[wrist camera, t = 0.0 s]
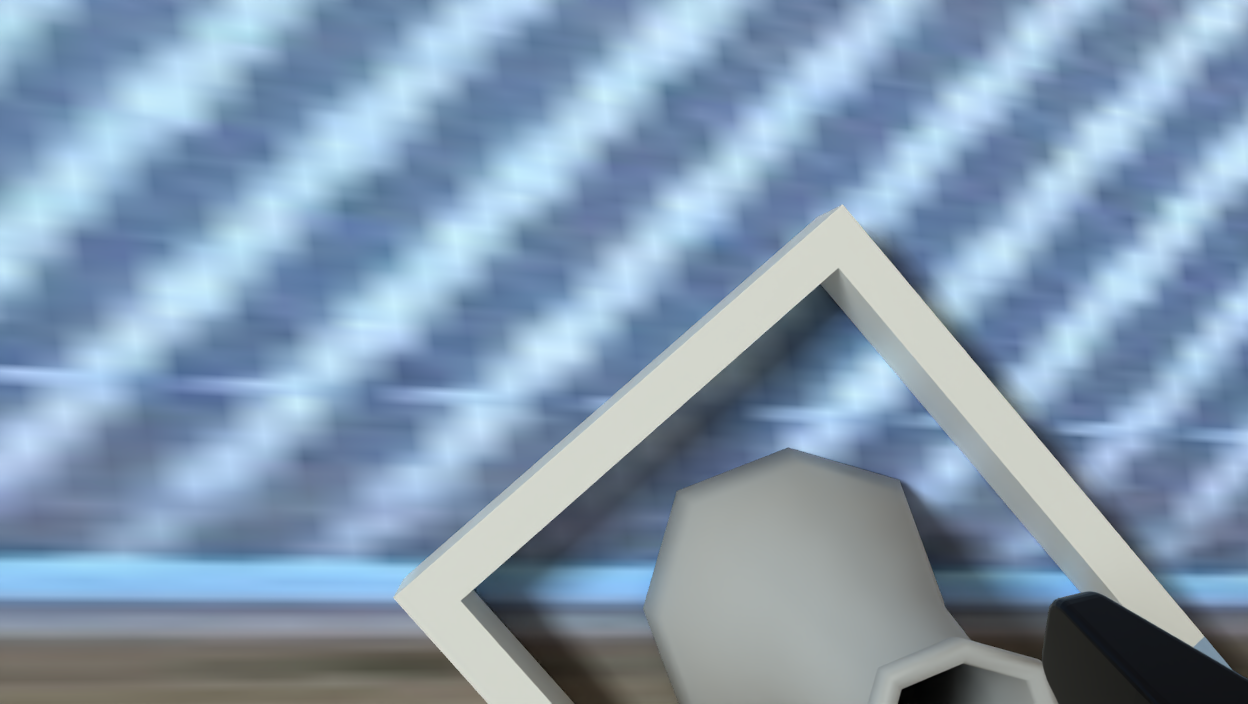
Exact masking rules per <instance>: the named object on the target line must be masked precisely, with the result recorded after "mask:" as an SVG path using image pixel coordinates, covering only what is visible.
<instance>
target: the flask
mask: <svg viewBox="0 0 1248 704" xmlns="http://www.w3.org/2000/svg"><path fill="white" fill-rule="evenodd" d="M643 610H644V612H645V615H646V618H647V620H648V623H649V626H650V628H651V631H652V634H653V636H654V639H655V642H656V644H657V647H658V650H659V652H660V655H661V658H662V660H663V663H664V666H665V669H666V671H667V674H668V677H669V679H670V682H671V685H672V687H673V690H674V693H675V695H676V698H677V701H678V703H679V704H1058V702H1057V700H1056V698H1055V696H1054V694H1053V692H1052V690H1051V688H1050V686H1049V683H1048V681H1047V679H1046V676H1045V673H1044V669H1043V664H1042V661H1040V660H1039V659H1036V658H1032V657H1029V656H1025V655H1022V654H1018V653H1014V652H1011V651H1007V650H1004V649H1000V648H996V647H993V646H989V645H986V644H982V643H978V642H975V641H971V640H970V638H969V637H968V636H967V635H966V633H965V632H964V631H963V629H962V628H961V627H960V626H959V624H958V623H957V622H956V620H955V619H954V618H953V617H952V615H951V614H950V613H949V611H948V610H947V609H946V608H945V605H944V601H943V598H942V595H941V592H940V590H939V587H938V584H937V581H936V579H935V576H934V573H933V571H932V568H931V565H930V562H929V560H928V557H927V554H926V551H925V549H924V546H923V543H922V541H921V538H920V535H919V532H918V530H917V527H916V524H915V521H914V519H913V516H912V513H911V511H910V508H909V505H908V502H907V500H906V497H905V494H904V491H903V489H902V486H901V483H900V481H899V480H897V479H894V478H890V477H887V476H884V475H880V474H877V473H873V472H870V471H866V470H863V469H860V468H856V467H853V466H849V465H846V464H842V463H839V462H836V461H832V460H829V459H825V458H822V457H818V456H815V455H811V454H808V453H805V452H801V451H798V450H794V449H791V448H786V449H783V450H781V451H778V452H775V453H773V454H770V455H768V456H765V457H763V458H760V459H758V460H755V461H752V462H750V463H747V464H745V465H742V466H740V467H737V468H735V469H732V470H729V471H727V472H724V473H722V474H719V475H717V476H714V477H712V478H709V479H706V480H704V481H701V482H699V483H696V484H694V485H691V486H689V487H686V488H683V489H681V490H678V491H677V492H676V496H675V499H674V503H673V506H672V510H671V513H670V517H669V520H668V524H667V527H666V531H665V534H664V537H663V541H662V544H661V548H660V551H659V555H658V558H657V562H656V565H655V569H654V572H653V576H652V579H651V583H650V586H649V589H648V593H647V596H646V600H645V603H644V607H643Z"/></svg>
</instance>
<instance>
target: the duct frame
mask: <svg viewBox="0 0 1248 704" xmlns="http://www.w3.org/2000/svg"><path fill="white" fill-rule="evenodd" d="M819 284H821V285H822V287H823V288H824V289H825V290H826V291H827V292H828V294H829V295H830V296H831V297H832V298H833V300H834V301H835V302H836V303H837V304H838V305H839V307H840V308H841V309H842V310H843V311H844V313H845V314H846V315H847V316H848V317H849V319H850V320H851V321H852V322H853V323H854V324H855V326H856V327H857V328H858V329H859V330H860V332H861V333H862V334H863V335H864V336H865V337H866V339H867V340H868V341H869V342H870V343H871V345H872V346H873V347H874V348H875V349H876V351H877V352H878V353H879V354H880V355H881V356H882V358H883V359H884V360H885V361H886V362H887V364H888V365H889V366H890V367H891V368H892V369H893V371H894V372H895V373H896V374H897V375H898V377H899V378H900V379H901V380H902V381H903V383H904V384H905V385H906V386H907V387H908V388H909V390H910V391H911V392H912V393H913V394H914V396H915V397H916V398H917V399H918V400H919V402H920V403H921V404H922V405H923V406H924V407H925V409H926V410H927V411H928V412H929V413H930V415H931V416H932V417H933V418H934V419H935V420H936V422H937V423H938V424H939V425H940V426H941V428H942V429H943V430H944V431H945V432H946V434H947V435H948V436H949V437H950V438H951V439H952V441H953V442H954V443H955V444H956V445H957V447H958V448H959V449H960V450H961V451H962V452H963V454H964V455H965V456H966V457H967V458H968V460H969V461H970V462H971V463H972V464H973V466H974V467H975V468H976V469H977V470H978V471H979V473H980V474H981V475H982V476H983V477H984V479H985V480H986V481H987V482H988V483H989V484H990V486H991V487H992V488H993V489H994V490H995V492H996V493H997V494H998V495H999V496H1000V498H1001V499H1002V500H1003V501H1004V502H1005V503H1006V505H1007V506H1008V507H1009V508H1010V509H1011V511H1012V512H1013V513H1014V514H1015V515H1016V516H1017V518H1018V519H1019V520H1020V521H1021V522H1022V524H1023V525H1024V526H1025V527H1026V528H1027V530H1028V531H1029V532H1030V533H1031V534H1032V535H1033V537H1034V538H1035V539H1036V540H1037V541H1038V543H1039V544H1040V545H1041V546H1042V547H1043V548H1044V550H1045V551H1046V552H1047V553H1048V554H1049V556H1050V557H1051V558H1052V559H1053V560H1054V562H1055V563H1056V564H1057V565H1058V566H1059V567H1060V569H1061V570H1062V571H1063V572H1064V573H1065V575H1066V576H1067V577H1068V578H1069V579H1070V580H1071V582H1072V583H1073V584H1074V585H1075V586H1076V588H1077V589H1078V590H1079V591H1080V592H1081V593H1082V592H1088V591H1092V592H1097V593H1100V594H1102V595H1104V596H1106V597H1108V598H1110V599H1111V600H1113V601H1115V602H1116V603H1118V604H1120V605H1122V606H1123V607H1125V608H1127V609H1128V610H1130V611H1132V612H1134V613H1135V614H1137V615H1139V616H1140V617H1142V618H1144V619H1146V620H1147V621H1149V622H1151V623H1152V624H1154V625H1156V626H1158V627H1159V628H1161V629H1163V630H1165V631H1166V632H1168V633H1170V634H1171V635H1173V636H1175V637H1177V638H1178V639H1180V640H1182V641H1183V642H1185V643H1187V644H1189V645H1190V646H1192V647H1194V648H1195V649H1197V650H1199V651H1201V652H1202V653H1204V654H1206V655H1207V656H1209V657H1211V658H1213V659H1214V660H1216V661H1218V662H1219V663H1221V664H1223V665H1225V666H1226V667H1228V668H1230V666H1229V665H1228V664H1227V663H1226V662H1225V660H1224V659H1223V658H1222V657H1221V656H1220V655H1219V653H1218V652H1217V651H1216V650H1215V649H1214V647H1213V646H1212V645H1211V644H1210V643H1209V641H1208V640H1207V639H1206V638H1205V637H1204V635H1203V634H1202V633H1201V632H1200V631H1199V629H1198V628H1197V627H1196V626H1195V625H1194V623H1193V622H1192V621H1191V620H1190V619H1189V617H1188V616H1187V615H1186V614H1185V613H1184V612H1183V610H1182V609H1181V608H1180V607H1179V606H1178V604H1177V603H1176V602H1175V601H1174V600H1173V598H1172V597H1171V596H1170V595H1169V594H1168V592H1167V591H1166V590H1165V589H1164V588H1163V586H1162V585H1161V584H1160V583H1159V582H1158V580H1157V579H1156V578H1155V577H1154V576H1153V574H1152V573H1151V572H1150V571H1149V570H1148V569H1147V567H1146V566H1145V565H1144V564H1143V563H1142V561H1141V560H1140V559H1139V558H1138V557H1137V555H1136V554H1135V553H1134V552H1133V551H1132V549H1131V548H1130V547H1129V546H1128V545H1127V543H1126V542H1125V541H1124V540H1123V539H1122V537H1121V536H1120V535H1119V534H1118V533H1117V532H1116V530H1115V529H1114V528H1113V527H1112V526H1111V524H1110V523H1109V522H1108V521H1107V520H1106V518H1105V517H1104V516H1103V515H1102V514H1101V512H1100V511H1099V510H1098V509H1097V508H1096V506H1095V505H1094V504H1093V503H1092V502H1091V500H1090V499H1089V498H1088V497H1087V496H1086V494H1085V493H1084V492H1083V491H1082V490H1081V489H1080V487H1079V486H1078V485H1077V484H1076V483H1075V481H1074V480H1073V479H1072V478H1071V477H1070V475H1069V474H1068V473H1067V472H1066V471H1065V469H1064V468H1063V467H1062V466H1061V465H1060V463H1059V462H1058V461H1057V460H1056V459H1055V457H1054V456H1053V455H1052V454H1051V453H1050V451H1049V450H1048V449H1047V448H1046V447H1045V446H1044V444H1043V443H1042V442H1041V441H1040V440H1039V438H1038V437H1037V436H1036V435H1035V434H1034V432H1033V431H1032V430H1031V429H1030V428H1029V426H1028V425H1027V424H1026V423H1025V422H1024V420H1023V419H1022V418H1021V417H1020V416H1019V414H1018V413H1017V412H1016V411H1015V410H1014V408H1013V407H1012V406H1011V405H1010V404H1009V403H1008V401H1007V400H1006V399H1005V398H1004V397H1003V395H1002V394H1001V393H1000V392H999V391H998V389H997V388H996V387H995V386H994V385H993V383H992V382H991V381H990V380H989V379H988V377H987V376H986V375H985V374H984V373H983V371H982V370H981V369H980V368H979V367H978V365H977V364H976V363H975V362H974V361H973V360H972V358H971V357H970V356H969V355H968V354H967V352H966V351H965V350H964V349H963V348H962V346H961V345H960V344H959V343H958V342H957V340H956V339H955V338H954V337H953V336H952V334H951V333H950V332H949V331H948V330H947V328H946V327H945V326H944V325H943V324H942V322H941V321H940V320H939V319H938V318H937V317H936V315H935V314H934V313H933V312H932V311H931V309H930V308H929V307H928V306H927V305H926V303H925V302H924V301H923V300H922V299H921V297H920V296H919V295H918V294H917V293H916V291H915V290H914V289H913V288H912V287H911V285H910V284H909V283H908V282H907V281H906V279H905V278H904V277H903V276H902V275H901V274H900V272H899V271H898V270H897V269H896V268H895V266H894V265H893V264H892V263H891V262H890V260H889V259H888V258H887V257H886V256H885V254H884V253H883V252H882V251H881V250H880V248H879V247H878V246H877V245H876V244H875V242H874V241H873V240H872V239H871V238H870V236H869V235H868V234H867V233H866V232H865V231H864V229H863V228H862V227H861V226H860V225H859V223H858V222H857V221H856V220H855V219H854V217H853V216H852V215H851V214H850V213H849V211H848V210H847V209H846V208H845V207H844V205H841V206H839V207H837V208H835V209H833V210H831V211H829V212H827V213H825V214H823V215H821V216H818V217H817V218H816V219H814V220H813V221H812V222H811V223H810V224H809V225H808V226H806V227H805V228H804V229H803V230H802V231H801V232H800V233H798V234H797V235H796V236H795V237H794V238H793V239H792V240H790V241H789V242H788V243H787V244H786V245H785V246H784V247H782V248H781V249H780V250H779V251H778V252H777V253H776V254H774V255H773V256H772V257H771V258H770V259H769V260H768V261H766V262H765V263H764V264H763V265H762V266H761V267H759V268H758V269H757V270H756V271H755V272H754V273H753V274H751V275H750V276H749V277H748V278H747V279H746V280H745V281H743V282H742V283H741V284H740V285H739V286H738V287H737V288H735V289H734V290H733V291H732V292H731V293H730V294H729V295H727V296H726V297H725V298H724V299H723V300H722V301H721V302H719V303H718V304H717V305H716V306H715V307H714V308H713V309H711V310H710V311H709V312H708V313H707V314H706V315H705V316H703V317H702V318H701V319H700V320H699V321H698V322H697V323H695V324H694V325H693V326H692V327H691V328H690V329H689V330H687V331H686V332H685V333H684V334H683V335H682V336H681V337H679V338H678V339H677V340H676V341H675V342H674V343H673V344H671V345H670V346H669V347H668V348H667V349H666V350H665V351H663V352H662V353H661V354H660V355H659V356H658V357H656V358H655V359H654V360H653V361H652V362H651V363H650V364H648V365H647V366H646V367H645V368H644V369H643V370H642V371H640V372H639V373H638V374H637V375H636V376H635V377H634V378H632V379H631V380H630V381H629V382H628V383H627V384H626V385H624V386H623V387H622V388H621V389H620V390H619V391H618V392H616V393H615V394H614V395H613V396H612V397H611V398H610V399H608V400H607V401H606V402H605V403H604V404H603V405H602V406H600V407H599V408H598V409H597V410H596V411H595V412H594V413H592V414H591V415H590V416H589V417H588V418H587V419H586V420H584V421H583V422H582V423H581V424H580V425H579V426H578V427H576V428H575V429H574V430H573V431H572V432H571V433H570V434H568V435H567V436H566V437H565V438H564V439H563V440H562V441H560V442H559V443H558V444H557V445H556V446H555V447H554V448H552V449H551V450H550V451H549V452H548V453H547V454H545V455H544V456H543V457H542V458H541V459H540V460H539V461H537V462H536V463H535V464H534V465H533V466H532V467H531V468H529V469H528V470H527V471H526V472H525V473H524V474H523V475H521V476H520V477H519V478H518V479H517V480H516V481H515V482H513V483H512V484H511V485H510V486H509V487H508V488H507V489H505V490H504V491H503V492H502V493H501V494H500V495H499V496H497V497H496V498H495V499H494V500H493V501H492V502H491V503H489V504H488V505H487V506H486V507H485V508H484V509H483V510H481V511H480V512H479V513H478V514H477V515H476V516H475V517H473V518H472V519H471V520H470V521H469V522H468V523H467V524H465V525H464V526H463V527H462V528H461V529H460V530H459V531H457V532H456V533H455V534H454V535H453V536H452V537H451V538H449V539H448V540H447V541H446V542H445V543H444V544H443V545H441V546H440V547H439V548H438V549H437V550H436V551H434V552H433V553H432V554H431V555H430V556H429V557H428V558H426V559H425V560H424V561H423V562H422V563H421V564H420V565H418V566H417V567H416V568H415V569H414V570H413V571H412V572H410V573H409V574H408V575H407V576H406V577H405V578H404V579H403V581H402V583H401V585H400V586H399V588H398V590H397V592H396V594H395V596H394V597H393V598H394V599H395V600H396V601H397V602H398V603H399V605H400V606H401V607H402V608H403V609H404V610H405V611H406V612H407V613H408V615H409V616H410V617H411V618H412V619H413V620H414V621H415V622H416V624H417V625H418V626H419V627H420V628H421V629H422V630H423V631H424V632H425V634H426V635H427V636H428V637H429V638H430V639H431V640H432V641H433V643H434V644H435V645H436V646H437V647H438V648H439V649H440V650H441V651H442V653H443V654H444V655H445V656H446V657H447V658H448V659H449V660H450V662H451V663H452V664H453V665H454V666H455V667H456V668H457V669H458V670H459V672H460V673H461V674H462V675H463V676H464V677H465V678H466V679H467V681H468V682H469V683H470V684H471V685H472V686H473V687H474V688H475V689H476V691H477V692H478V693H479V694H480V695H481V696H482V697H483V698H484V700H485V701H486V702H487V703H488V704H574V703H573V702H572V700H571V699H570V698H569V697H568V696H567V695H566V694H565V693H564V691H563V690H562V689H561V688H560V687H559V686H558V685H557V684H556V682H555V681H554V680H553V679H552V678H551V677H550V676H549V675H548V673H547V672H546V671H545V670H544V669H543V668H542V667H541V666H540V664H539V663H538V662H537V661H536V660H535V659H534V658H533V657H532V655H531V654H530V653H529V652H528V651H527V650H526V649H525V648H524V646H523V645H522V644H521V643H520V642H519V641H518V640H517V639H516V637H515V636H514V635H513V634H512V633H511V632H510V631H509V629H508V628H507V627H506V626H505V625H504V624H503V623H502V622H501V620H500V619H499V618H498V617H497V616H496V615H495V614H494V613H493V611H492V610H491V609H490V608H489V607H488V606H487V605H486V604H485V602H484V601H483V600H482V599H481V598H480V597H479V596H478V595H477V593H476V592H475V591H474V590H473V589H474V588H476V587H477V586H478V585H479V584H480V583H481V582H482V581H484V580H485V579H486V578H487V577H488V576H489V575H490V574H492V573H493V572H494V571H495V570H496V569H497V568H498V567H499V566H501V565H502V564H503V563H504V562H505V561H506V560H507V559H509V558H510V557H511V556H512V555H513V554H514V553H515V552H516V551H518V550H519V549H520V548H521V547H522V546H523V545H524V544H526V543H527V542H528V541H529V540H530V539H531V538H532V537H533V536H535V535H536V534H537V533H538V532H539V531H540V530H541V529H543V528H544V527H545V526H546V525H547V524H548V523H549V522H550V521H552V520H553V519H554V518H555V517H556V516H557V515H558V514H560V513H561V512H562V511H563V510H564V509H565V508H566V507H568V506H569V505H570V504H571V503H572V502H573V501H574V500H575V499H577V498H578V497H579V496H580V495H581V494H582V493H583V492H585V491H586V490H587V489H588V488H589V487H590V486H591V485H592V484H594V483H595V482H596V481H597V480H598V479H599V478H600V477H602V476H603V475H604V474H605V473H606V472H607V471H608V470H609V469H611V468H612V467H613V466H614V465H615V464H616V463H617V462H619V461H620V460H621V459H622V458H623V457H624V456H625V455H627V454H628V453H629V452H630V451H631V450H632V449H633V448H634V447H636V446H637V445H638V444H639V443H640V442H641V441H642V440H644V439H645V438H646V437H647V436H648V435H649V434H650V433H651V432H653V431H654V430H655V429H656V428H657V427H658V426H659V425H661V424H662V423H663V422H664V421H665V420H666V419H667V418H668V417H670V416H671V415H672V414H673V413H674V412H675V411H676V410H678V409H679V408H680V407H681V406H682V405H683V404H684V403H686V402H687V401H688V400H689V399H690V398H691V397H692V396H693V395H695V394H696V393H697V392H698V391H699V390H700V389H701V388H703V387H704V386H705V385H706V384H707V383H708V382H709V381H710V380H712V379H713V378H714V377H715V376H716V375H717V374H718V373H720V372H721V371H722V370H723V369H724V368H725V367H726V366H727V365H729V364H730V363H731V362H732V361H733V360H734V359H735V358H737V357H738V356H739V355H740V354H741V353H742V352H743V351H745V350H746V349H747V348H748V347H749V346H750V345H751V344H752V343H754V342H755V341H756V340H757V339H758V338H759V337H760V336H762V335H763V334H764V333H765V332H766V331H767V330H768V329H769V328H771V327H772V326H773V325H774V324H775V323H776V322H777V321H779V320H780V319H781V318H782V317H783V316H784V315H785V314H786V313H788V312H789V311H790V310H791V309H792V308H793V307H794V306H796V305H797V304H798V303H799V302H800V301H801V300H802V299H804V298H805V297H806V296H807V295H808V294H809V293H810V292H811V291H813V290H814V289H815V288H816V287H817V286H818V285H819ZM1230 669H1231V668H1230ZM1231 670H1232V669H1231Z"/></svg>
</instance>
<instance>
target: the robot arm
mask: <svg viewBox="0 0 1248 704" xmlns="http://www.w3.org/2000/svg"><path fill="white" fill-rule="evenodd" d="M1042 664H1043V669H1044V673H1045V676H1046V679H1047V681H1048V683H1049V686H1050V688H1051V690H1052V692H1053V694H1054V696H1055V698H1056V700H1057V702H1058V704H1248V679H1247V678H1245V677H1243V676H1242V675H1240V674H1238V673H1237V672H1235V671H1233V670H1231V669H1230V668H1228V667H1226V666H1225V665H1223V664H1221V663H1219V662H1218V661H1216V660H1214V659H1213V658H1211V657H1209V656H1207V655H1206V654H1204V653H1202V652H1201V651H1199V650H1197V649H1195V648H1194V647H1192V646H1190V645H1189V644H1187V643H1185V642H1183V641H1182V640H1180V639H1178V638H1177V637H1175V636H1173V635H1171V634H1170V633H1168V632H1166V631H1165V630H1163V629H1161V628H1159V627H1158V626H1156V625H1154V624H1152V623H1151V622H1149V621H1147V620H1146V619H1144V618H1142V617H1140V616H1139V615H1137V614H1135V613H1134V612H1132V611H1130V610H1128V609H1127V608H1125V607H1123V606H1122V605H1120V604H1118V603H1116V602H1115V601H1113V600H1111V599H1110V598H1108V597H1106V596H1104V595H1102V594H1100V593H1097V592H1092V591H1088V592H1082V593H1078V594H1074V595H1070V596H1066V597H1062V598H1058V599H1056V600H1054V601H1053V603H1052V604H1051V605H1050V607H1049V611H1048V618H1047V624H1046V631H1045V638H1044V645H1043V651H1042Z"/></svg>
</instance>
